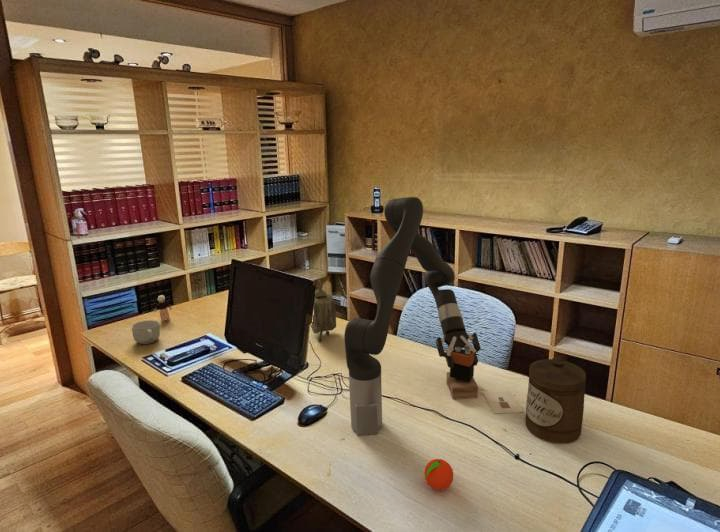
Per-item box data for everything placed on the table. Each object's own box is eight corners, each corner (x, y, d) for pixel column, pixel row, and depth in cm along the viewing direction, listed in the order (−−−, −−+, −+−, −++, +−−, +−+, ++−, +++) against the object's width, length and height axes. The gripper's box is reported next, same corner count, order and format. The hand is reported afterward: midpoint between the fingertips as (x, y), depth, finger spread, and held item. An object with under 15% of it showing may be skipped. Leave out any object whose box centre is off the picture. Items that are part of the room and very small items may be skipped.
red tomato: (435, 503, 109) (435, 477, 107) (415, 486, 115) (415, 461, 113) (459, 488, 114) (460, 463, 112) (438, 472, 119) (438, 448, 117)
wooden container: (514, 419, 139) (518, 352, 133) (554, 408, 144) (560, 342, 138) (550, 450, 126) (557, 376, 120) (593, 436, 131) (601, 364, 125)
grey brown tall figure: (309, 330, 207) (305, 276, 200) (329, 327, 209) (326, 273, 202) (316, 344, 193) (312, 286, 186) (337, 340, 196) (334, 283, 189)
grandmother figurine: (171, 317, 227) (167, 292, 223) (174, 319, 224) (170, 294, 221) (155, 321, 222) (150, 296, 219) (157, 324, 219) (153, 298, 216)
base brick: (477, 397, 151) (478, 386, 150) (452, 398, 151) (453, 387, 150) (469, 381, 161) (470, 371, 160) (446, 382, 161) (446, 372, 160)
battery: (454, 371, 158) (455, 344, 155) (473, 376, 155) (475, 349, 152) (449, 377, 155) (449, 349, 152) (469, 382, 151) (470, 354, 148)
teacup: (134, 339, 204) (131, 322, 202) (161, 334, 208) (158, 317, 206) (134, 352, 192) (131, 333, 190) (163, 346, 196) (160, 328, 194)
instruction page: (523, 412, 143) (523, 411, 143) (493, 413, 143) (493, 412, 142) (510, 391, 154) (510, 390, 154) (482, 392, 154) (482, 391, 154)
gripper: (433, 317, 155) (446, 365, 147) (474, 312, 158) (488, 360, 150) (428, 326, 162) (439, 372, 154) (467, 321, 164) (480, 367, 157)
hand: (463, 366), depth 152 cm, fingers closed on battery, 7 cm apart
